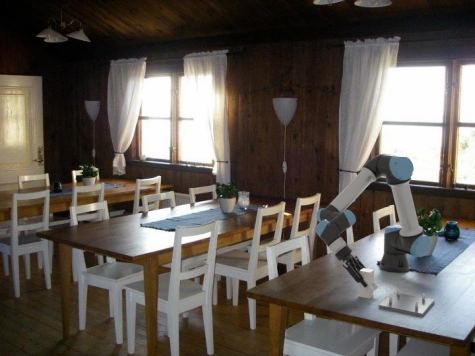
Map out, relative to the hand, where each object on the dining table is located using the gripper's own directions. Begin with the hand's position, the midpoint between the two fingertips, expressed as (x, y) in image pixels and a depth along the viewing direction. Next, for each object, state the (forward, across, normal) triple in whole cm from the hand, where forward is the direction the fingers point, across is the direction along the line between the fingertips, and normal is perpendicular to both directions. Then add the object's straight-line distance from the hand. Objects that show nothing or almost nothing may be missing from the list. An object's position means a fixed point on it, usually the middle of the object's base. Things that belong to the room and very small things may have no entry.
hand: (374, 290), depth 242 cm
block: (0, 0, -5) cm, 5 cm away
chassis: (+13, +2, +8) cm, 16 cm away
